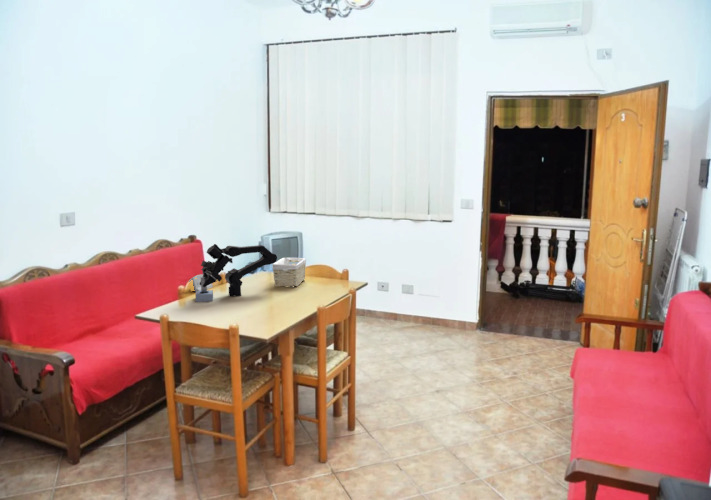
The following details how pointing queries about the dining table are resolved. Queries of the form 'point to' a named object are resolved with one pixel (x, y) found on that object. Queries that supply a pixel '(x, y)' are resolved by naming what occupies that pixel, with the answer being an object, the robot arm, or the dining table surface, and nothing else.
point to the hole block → (204, 296)
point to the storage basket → (289, 272)
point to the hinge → (198, 282)
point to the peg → (203, 289)
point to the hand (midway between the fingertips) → (201, 285)
